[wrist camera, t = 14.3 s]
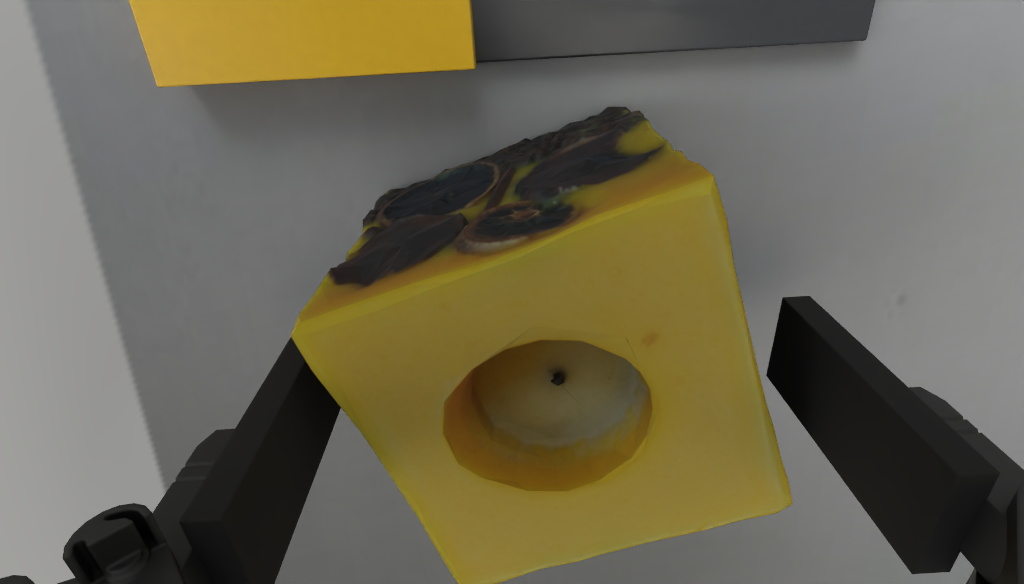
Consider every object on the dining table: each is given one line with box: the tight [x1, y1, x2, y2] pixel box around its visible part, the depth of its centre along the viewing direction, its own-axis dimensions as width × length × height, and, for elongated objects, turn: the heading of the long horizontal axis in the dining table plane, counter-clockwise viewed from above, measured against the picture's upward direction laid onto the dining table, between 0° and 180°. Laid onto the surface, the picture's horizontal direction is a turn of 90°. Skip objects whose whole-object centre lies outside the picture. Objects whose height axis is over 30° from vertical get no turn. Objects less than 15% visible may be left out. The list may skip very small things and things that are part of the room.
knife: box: [129, 0, 875, 87], centre depth 17 cm, size 23×3×2 cm, turn 93°
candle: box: [291, 107, 792, 584], centre depth 18 cm, size 10×10×10 cm
